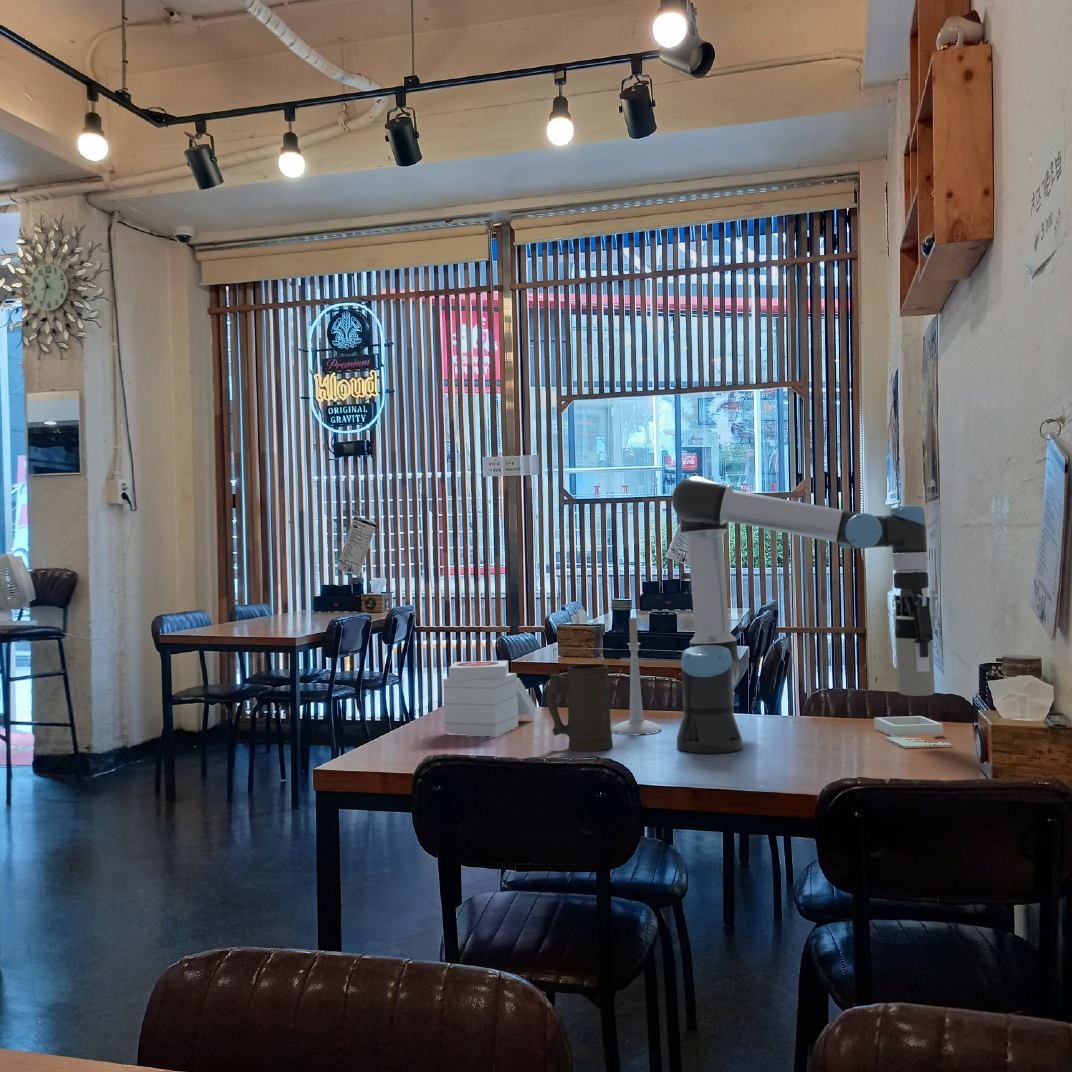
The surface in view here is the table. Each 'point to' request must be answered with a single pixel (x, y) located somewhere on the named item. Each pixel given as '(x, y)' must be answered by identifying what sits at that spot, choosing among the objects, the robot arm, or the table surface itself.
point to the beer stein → (583, 707)
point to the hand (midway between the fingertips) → (915, 669)
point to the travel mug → (911, 661)
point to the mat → (906, 743)
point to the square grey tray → (907, 725)
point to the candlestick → (635, 693)
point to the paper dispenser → (484, 699)
